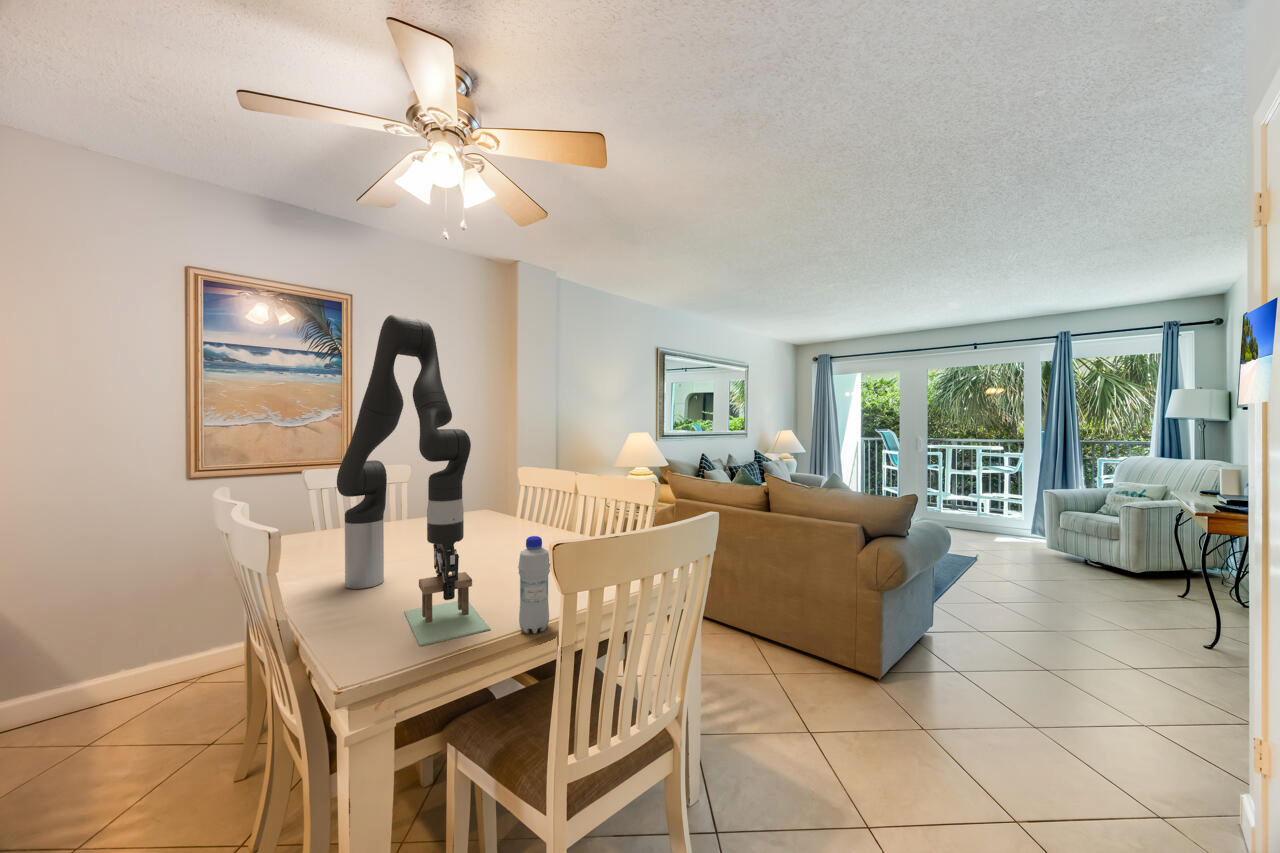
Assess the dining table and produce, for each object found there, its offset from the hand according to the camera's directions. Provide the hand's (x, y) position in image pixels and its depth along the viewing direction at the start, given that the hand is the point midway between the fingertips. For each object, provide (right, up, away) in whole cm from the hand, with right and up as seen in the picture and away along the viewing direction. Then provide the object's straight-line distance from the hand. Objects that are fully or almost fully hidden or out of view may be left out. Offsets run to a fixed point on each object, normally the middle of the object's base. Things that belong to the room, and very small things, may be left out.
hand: (445, 594), depth 110 cm
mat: (0, -6, 0) cm, 6 cm away
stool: (0, -5, 0) cm, 5 cm away
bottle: (+21, -6, -4) cm, 22 cm away
